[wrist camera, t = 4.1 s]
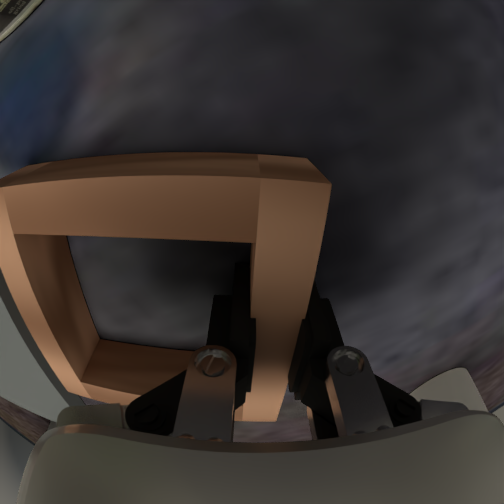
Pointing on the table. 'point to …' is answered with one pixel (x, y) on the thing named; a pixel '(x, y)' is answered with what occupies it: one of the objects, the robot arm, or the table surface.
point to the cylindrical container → (452, 389)
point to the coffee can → (14, 14)
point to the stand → (27, 366)
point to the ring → (162, 227)
